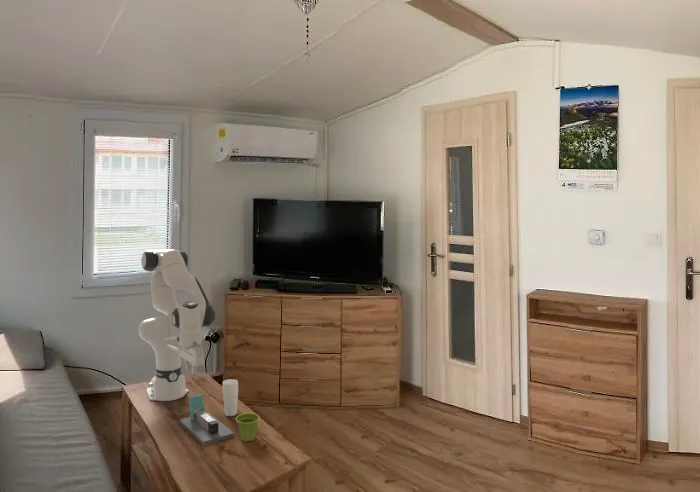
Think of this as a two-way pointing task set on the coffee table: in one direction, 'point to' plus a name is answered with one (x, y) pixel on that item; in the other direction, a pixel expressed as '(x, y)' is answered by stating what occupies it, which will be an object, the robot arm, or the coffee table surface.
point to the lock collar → (196, 404)
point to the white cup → (230, 396)
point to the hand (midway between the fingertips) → (191, 371)
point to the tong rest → (202, 433)
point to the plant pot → (247, 426)
